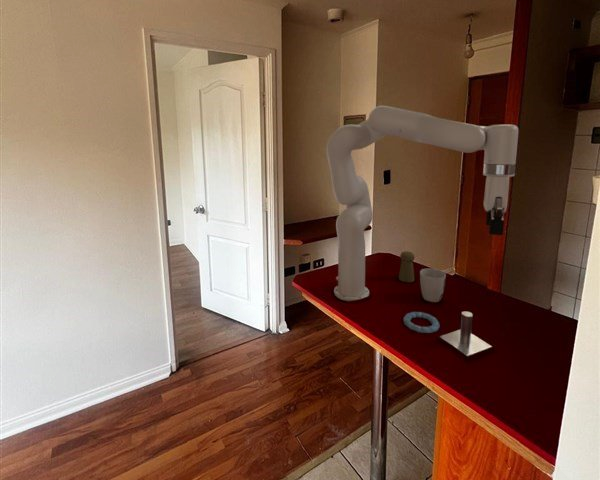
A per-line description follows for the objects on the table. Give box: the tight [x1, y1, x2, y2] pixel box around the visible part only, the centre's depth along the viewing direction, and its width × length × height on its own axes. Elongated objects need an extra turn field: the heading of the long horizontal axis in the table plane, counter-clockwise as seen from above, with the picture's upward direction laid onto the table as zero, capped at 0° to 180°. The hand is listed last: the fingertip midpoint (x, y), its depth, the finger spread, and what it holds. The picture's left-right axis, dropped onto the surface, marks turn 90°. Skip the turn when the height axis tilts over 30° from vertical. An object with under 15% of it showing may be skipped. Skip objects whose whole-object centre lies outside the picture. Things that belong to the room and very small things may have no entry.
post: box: [439, 311, 493, 358], centre depth 87 cm, size 9×9×9 cm
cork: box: [398, 250, 416, 283], centre depth 127 cm, size 6×6×11 cm
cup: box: [419, 267, 447, 303], centre depth 110 cm, size 8×8×10 cm
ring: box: [402, 311, 441, 334], centre depth 97 cm, size 10×10×2 cm
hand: (493, 229), depth 93 cm, fingers open, 9 cm apart
